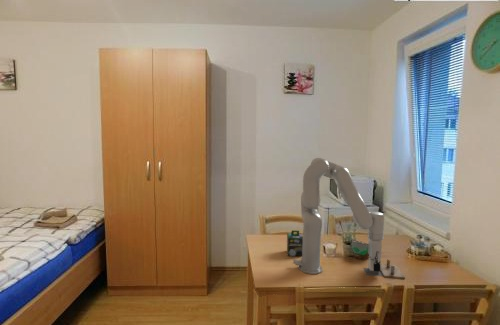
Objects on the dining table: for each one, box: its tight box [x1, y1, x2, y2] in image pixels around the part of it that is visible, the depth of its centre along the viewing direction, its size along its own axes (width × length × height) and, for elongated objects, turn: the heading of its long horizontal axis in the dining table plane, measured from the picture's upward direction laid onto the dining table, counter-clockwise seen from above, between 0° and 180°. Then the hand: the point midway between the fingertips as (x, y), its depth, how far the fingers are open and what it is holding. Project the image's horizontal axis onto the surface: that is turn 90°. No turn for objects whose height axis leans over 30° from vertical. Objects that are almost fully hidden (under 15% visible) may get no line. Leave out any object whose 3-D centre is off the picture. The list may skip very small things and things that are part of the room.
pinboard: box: [380, 259, 406, 280], centre depth 166 cm, size 10×15×5 cm, turn 171°
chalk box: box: [286, 230, 303, 258], centre depth 189 cm, size 9×9×15 cm
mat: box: [362, 267, 384, 277], centre depth 165 cm, size 9×9×1 cm
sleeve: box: [367, 256, 379, 274], centre depth 165 cm, size 4×4×7 cm
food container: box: [350, 239, 370, 261], centre depth 184 cm, size 12×6×10 cm, turn 47°
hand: (374, 267), depth 165 cm, fingers open, 9 cm apart
